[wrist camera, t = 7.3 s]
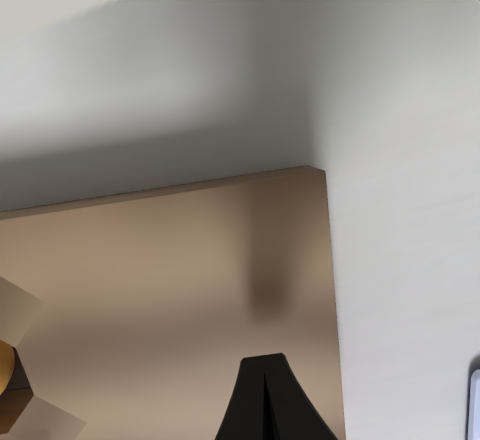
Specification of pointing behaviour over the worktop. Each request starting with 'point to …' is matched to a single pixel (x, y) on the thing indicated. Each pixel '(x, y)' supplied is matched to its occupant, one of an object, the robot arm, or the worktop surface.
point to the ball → (6, 364)
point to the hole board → (166, 306)
